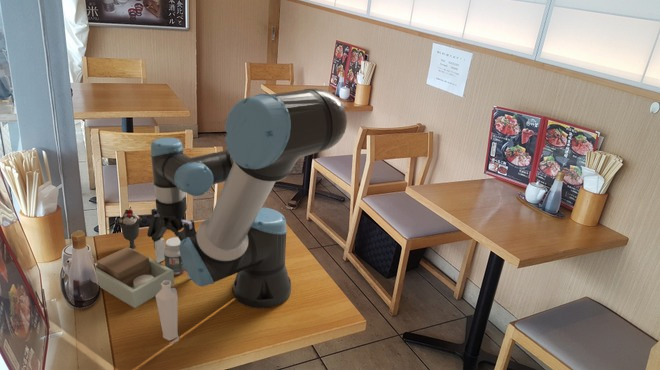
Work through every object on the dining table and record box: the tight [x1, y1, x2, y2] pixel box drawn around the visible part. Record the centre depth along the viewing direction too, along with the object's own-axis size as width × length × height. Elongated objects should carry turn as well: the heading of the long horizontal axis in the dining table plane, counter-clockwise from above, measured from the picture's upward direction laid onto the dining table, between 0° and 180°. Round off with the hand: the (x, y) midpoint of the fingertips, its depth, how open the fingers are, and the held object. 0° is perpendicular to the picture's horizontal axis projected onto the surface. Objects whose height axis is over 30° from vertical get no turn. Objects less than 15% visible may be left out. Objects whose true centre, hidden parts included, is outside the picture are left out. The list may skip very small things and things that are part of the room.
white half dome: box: [133, 275, 154, 289], centre depth 118 cm, size 5×5×3 cm
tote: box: [94, 248, 175, 309], centre depth 121 cm, size 18×12×6 cm, turn 58°
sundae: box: [116, 206, 143, 250], centre depth 134 cm, size 7×7×15 cm
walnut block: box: [95, 246, 151, 288], centre depth 122 cm, size 9×9×6 cm
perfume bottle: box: [155, 281, 180, 345], centre depth 102 cm, size 5×4×15 cm
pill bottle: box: [164, 236, 187, 277], centre depth 126 cm, size 6×6×10 cm
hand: (176, 268), depth 128 cm, fingers open, 12 cm apart
